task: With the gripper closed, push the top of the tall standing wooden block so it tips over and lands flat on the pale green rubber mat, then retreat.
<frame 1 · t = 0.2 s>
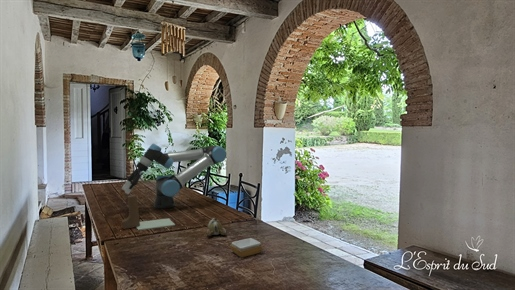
hand: (124, 191, 214), 16 cm above the table, fingers open, 13 cm apart
mat: (154, 224, 195), on the table
ceramic sculpture: (215, 234, 178), on the table
soap dish: (246, 253, 152), on the table
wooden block: (131, 227, 189), on the table
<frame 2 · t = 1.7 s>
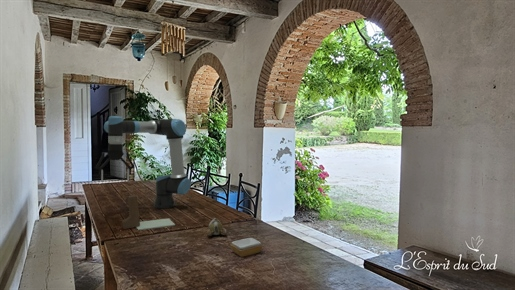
hand: (115, 181, 184), 28 cm above the table, fingers open, 13 cm apart
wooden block: (131, 227, 189), on the table, touching mat
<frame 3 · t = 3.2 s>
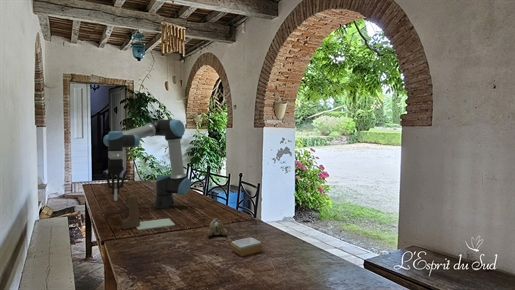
hand: (115, 200, 184), 17 cm above the table, fingers closed
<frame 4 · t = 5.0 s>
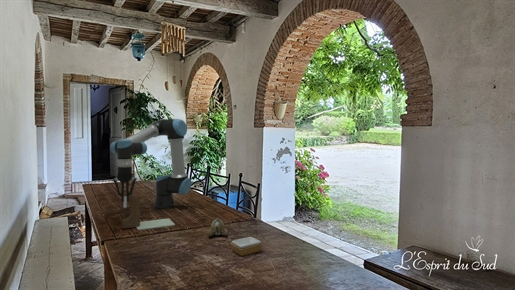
hand: (125, 207, 186), 12 cm above the table, fingers closed
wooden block: (131, 226, 189), on the table, touching mat
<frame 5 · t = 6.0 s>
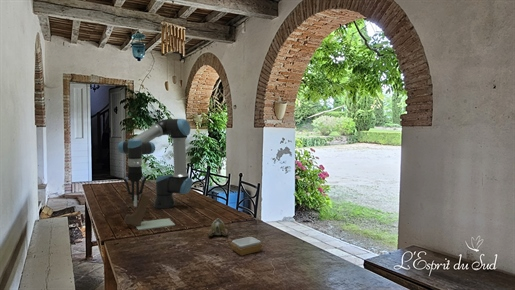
hand: (135, 206, 189), 12 cm above the table, fingers closed
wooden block: (131, 224, 189), point 2 cm above the table, touching mat
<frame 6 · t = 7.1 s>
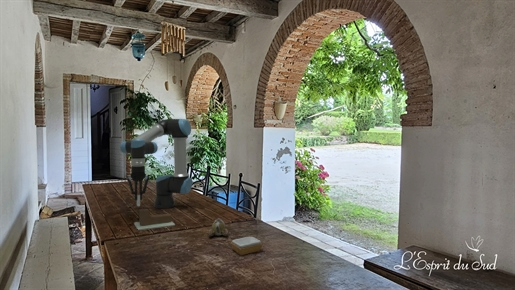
hand: (138, 205, 190), 12 cm above the table, fingers closed
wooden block: (139, 217, 191), point 5 cm above the table, touching mat
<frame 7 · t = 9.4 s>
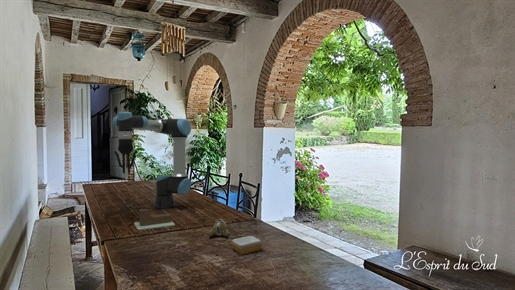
hand: (126, 178, 190), 28 cm above the table, fingers closed
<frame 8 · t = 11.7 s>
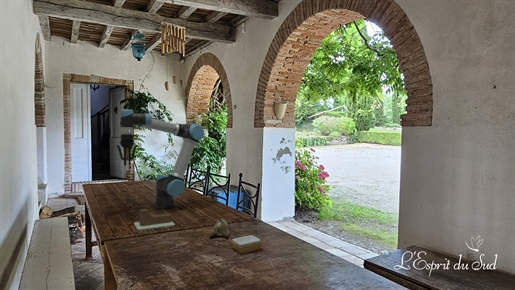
hand: (127, 170, 209), 30 cm above the table, fingers closed
at the end: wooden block tilted 90°; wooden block inside the target area (6.9 cm from its centre), point 5.1 cm above the table; the gripper is holding nothing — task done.
